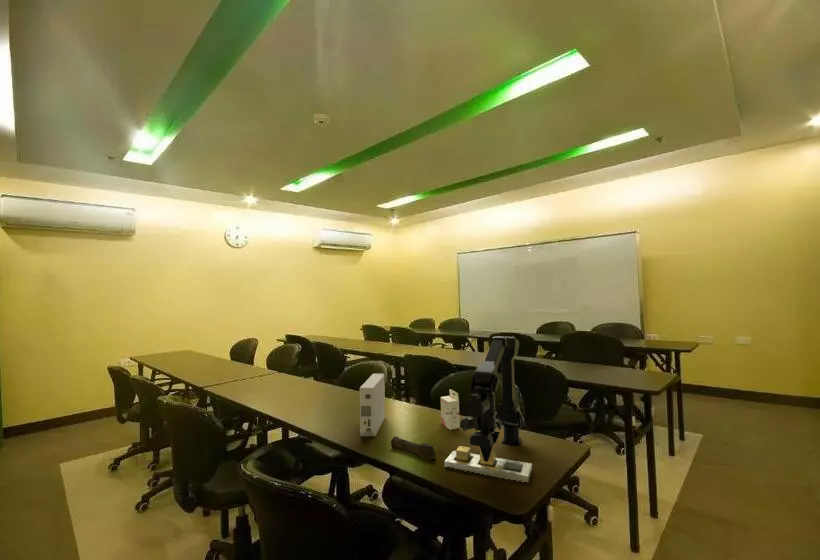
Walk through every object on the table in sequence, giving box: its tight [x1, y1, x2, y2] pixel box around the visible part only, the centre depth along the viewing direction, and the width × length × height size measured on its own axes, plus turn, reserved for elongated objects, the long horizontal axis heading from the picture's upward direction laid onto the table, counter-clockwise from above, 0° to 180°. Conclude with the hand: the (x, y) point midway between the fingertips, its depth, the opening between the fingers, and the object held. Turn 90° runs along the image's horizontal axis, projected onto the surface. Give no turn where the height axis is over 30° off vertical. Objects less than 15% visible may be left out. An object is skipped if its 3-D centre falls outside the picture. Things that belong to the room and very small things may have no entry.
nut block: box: [479, 442, 497, 467], centre depth 118 cm, size 4×4×6 cm
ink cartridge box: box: [440, 388, 461, 431], centre depth 158 cm, size 9×5×15 cm, turn 22°
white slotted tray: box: [444, 445, 533, 483], centre depth 118 cm, size 9×26×5 cm, turn 65°
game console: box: [359, 373, 386, 437], centre depth 159 cm, size 6×27×20 cm, turn 174°
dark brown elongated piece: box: [390, 436, 437, 460], centre depth 131 cm, size 19×4×5 cm, turn 48°
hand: (487, 458), depth 118 cm, fingers closed on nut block, 4 cm apart
